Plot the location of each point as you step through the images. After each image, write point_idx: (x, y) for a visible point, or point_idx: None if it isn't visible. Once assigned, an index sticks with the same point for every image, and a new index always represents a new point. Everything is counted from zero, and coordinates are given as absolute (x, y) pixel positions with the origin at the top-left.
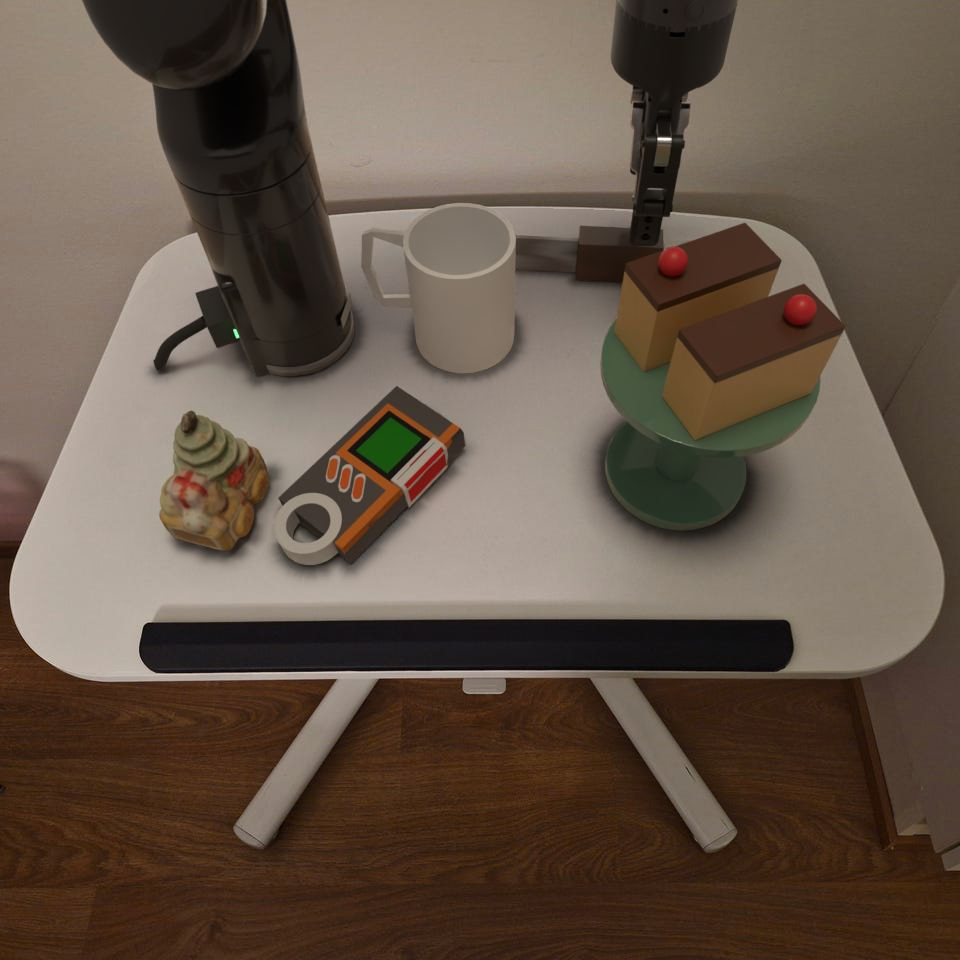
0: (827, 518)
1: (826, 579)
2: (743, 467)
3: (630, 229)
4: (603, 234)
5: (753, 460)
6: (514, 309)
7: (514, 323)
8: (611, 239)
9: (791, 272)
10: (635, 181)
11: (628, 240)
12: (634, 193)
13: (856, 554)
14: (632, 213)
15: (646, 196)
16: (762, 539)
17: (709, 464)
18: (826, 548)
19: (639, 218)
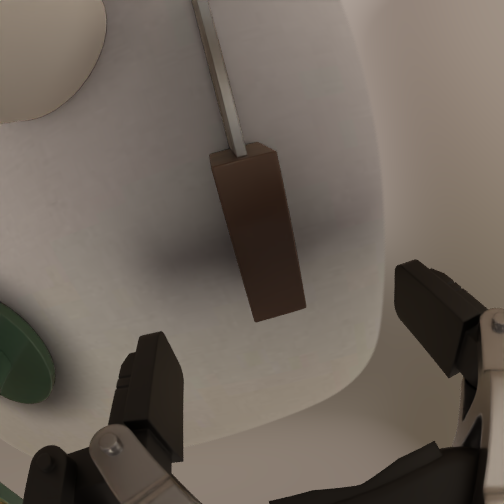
0: (49, 434)
1: (15, 429)
2: (31, 402)
3: (143, 353)
4: (261, 209)
5: (53, 401)
6: (18, 114)
7: (42, 110)
8: (249, 230)
9: (310, 394)
10: (151, 463)
11: (257, 262)
12: (126, 445)
13: (40, 442)
14: (150, 381)
15: (79, 494)
16: (6, 404)
17: (14, 382)
18: (31, 431)
19: (110, 415)
